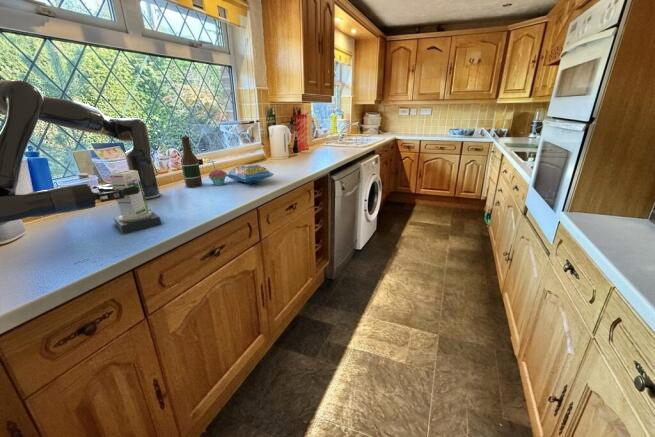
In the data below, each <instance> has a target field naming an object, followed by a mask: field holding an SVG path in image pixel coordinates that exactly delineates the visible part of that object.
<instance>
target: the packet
mask: <svg viewBox="0 0 655 437" xmlns="http://www.w3.org/2000/svg"><path fill="white" fill-rule="evenodd" d="M226 173H227V176H226V177H228V178H229V179H231V180H233V181H237V182H241V183H245V184H248V185H251V184H254V183H256V182H257V181H261V180H265V179H267V178H268V179H269V178H270V177H273V176H274V175H275V173H273V172H271V171H270V170H269V169H268V168H266V167H265V166H261V165H259V164H251V165H249V164H247V165H237V166H235V167H233V168H232V169H231V170H230V171H228V172H226Z"/></svg>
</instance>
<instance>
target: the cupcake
mask: <svg viewBox="0 0 655 437" xmlns="http://www.w3.org/2000/svg"><path fill="white" fill-rule="evenodd" d="M211 163H212V166H213V169H214V170H212V171H211V172H210V173H209V174H208V178H209V179H210V180H211V181H212V183H213V185H214V186H222V185H224V184H225V179H226V178H227V177H228V176H227V173H228V172H226V171H224V170H222V169H216V165H215V162H214V160H213V159H212V160H211Z"/></svg>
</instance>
